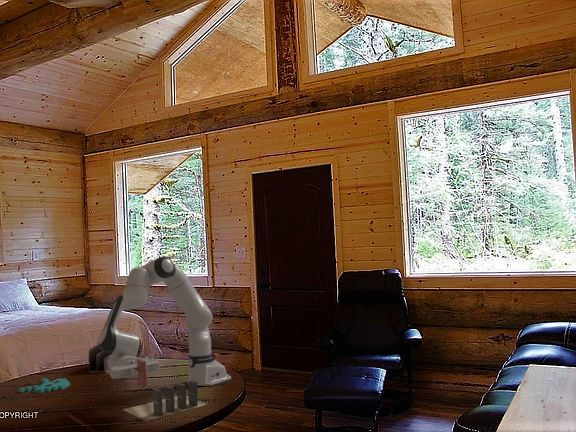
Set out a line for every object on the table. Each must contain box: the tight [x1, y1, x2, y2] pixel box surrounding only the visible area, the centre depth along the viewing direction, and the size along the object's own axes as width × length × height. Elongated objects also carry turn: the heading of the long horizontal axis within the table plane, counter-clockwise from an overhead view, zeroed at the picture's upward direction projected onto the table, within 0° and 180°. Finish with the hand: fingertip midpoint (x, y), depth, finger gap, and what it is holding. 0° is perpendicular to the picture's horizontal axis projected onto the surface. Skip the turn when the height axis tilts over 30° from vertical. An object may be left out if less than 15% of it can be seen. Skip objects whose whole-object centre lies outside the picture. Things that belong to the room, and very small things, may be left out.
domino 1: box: [152, 387, 163, 416], centre depth 225 cm, size 2×5×10 cm, turn 39°
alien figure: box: [18, 378, 71, 394], centre depth 283 cm, size 20×2×20 cm
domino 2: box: [164, 385, 175, 413], centre depth 229 cm, size 2×5×10 cm, turn 40°
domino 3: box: [176, 382, 187, 410], centre depth 232 cm, size 2×5×10 cm, turn 39°
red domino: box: [136, 360, 147, 388], centre depth 223 cm, size 2×5×10 cm, turn 39°
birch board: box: [122, 395, 208, 422], centre depth 235 cm, size 29×22×1 cm
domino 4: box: [187, 380, 199, 407], centre depth 236 cm, size 2×5×10 cm, turn 39°
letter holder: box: [88, 344, 113, 374], centre depth 319 cm, size 10×20×14 cm, turn 171°
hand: (142, 372), depth 223 cm, fingers closed on red domino, 2 cm apart
